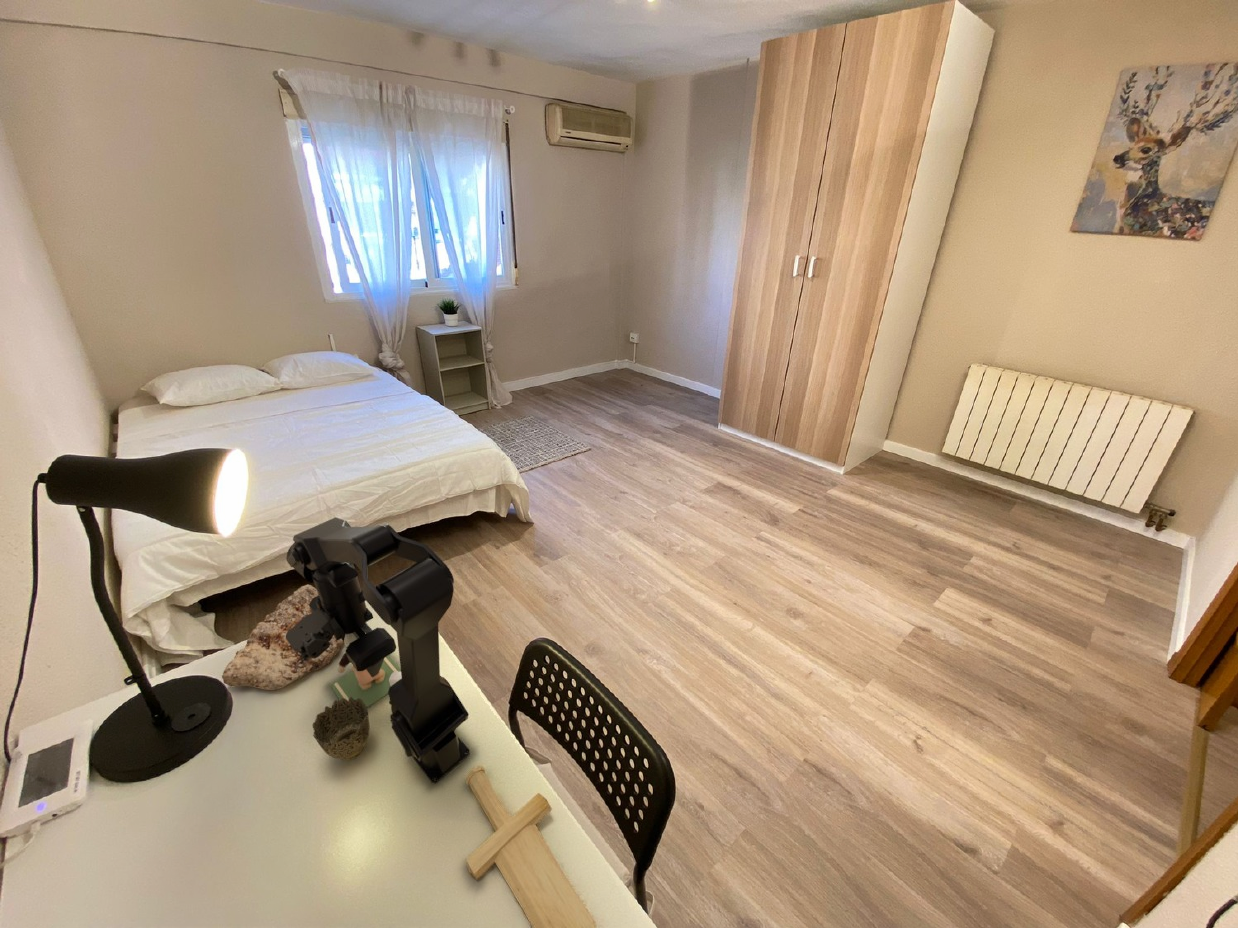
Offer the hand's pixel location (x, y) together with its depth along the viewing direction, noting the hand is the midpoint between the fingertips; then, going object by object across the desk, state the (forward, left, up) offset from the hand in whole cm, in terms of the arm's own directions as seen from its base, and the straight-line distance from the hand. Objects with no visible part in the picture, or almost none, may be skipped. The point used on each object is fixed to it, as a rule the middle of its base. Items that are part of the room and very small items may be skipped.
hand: (362, 659), depth 87 cm
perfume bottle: (-12, -4, -6) cm, 14 cm away
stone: (+23, +8, -2) cm, 24 cm away
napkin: (0, 0, -6) cm, 6 cm away
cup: (-10, +7, -6) cm, 14 cm away
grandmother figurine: (0, 0, -6) cm, 6 cm away
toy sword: (-28, -3, -4) cm, 28 cm away
